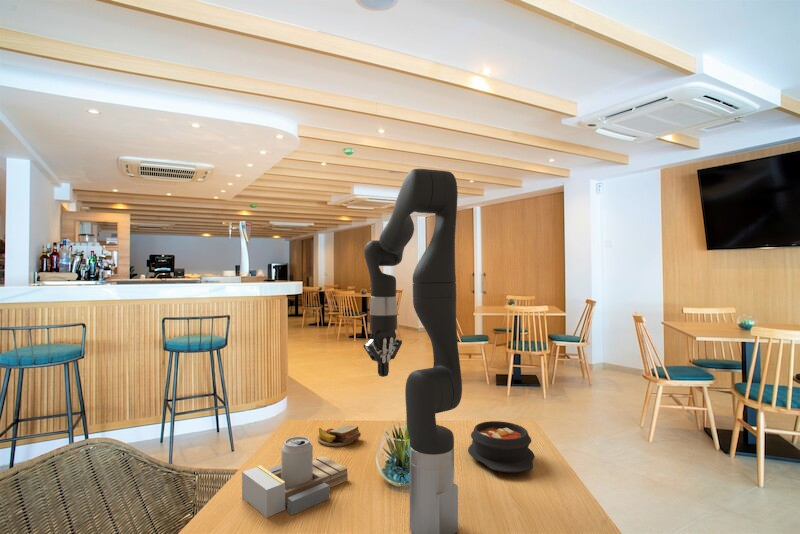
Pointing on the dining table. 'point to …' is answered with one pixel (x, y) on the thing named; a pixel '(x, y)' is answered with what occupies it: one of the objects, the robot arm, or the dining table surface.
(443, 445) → the robot arm
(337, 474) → the pallet
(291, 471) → the can
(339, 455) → the dining table surface
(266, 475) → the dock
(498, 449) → the casserole
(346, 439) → the toy sandwich meal
